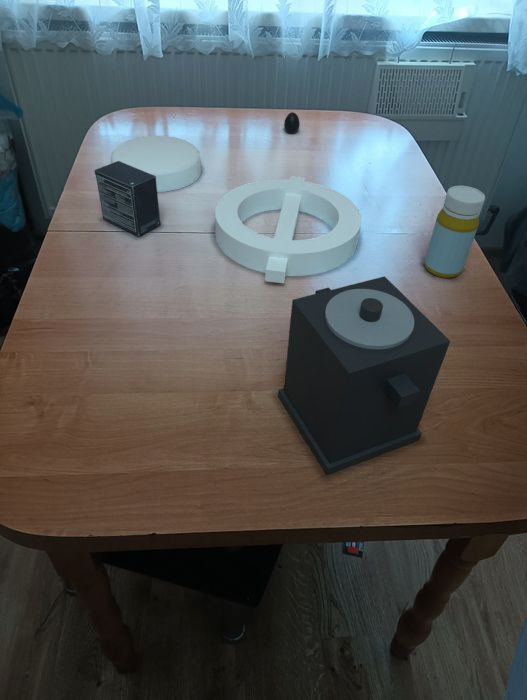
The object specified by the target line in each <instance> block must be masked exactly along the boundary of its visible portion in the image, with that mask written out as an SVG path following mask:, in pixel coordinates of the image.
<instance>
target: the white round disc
mask: <svg viewBox="0 0 527 700" xmlns="http://www.w3.org/2000/svg"><path fill="white" fill-rule="evenodd" d="M117 161H120V162H123V163H125V164H127V165H130V166H132V167H135V168H137V169H140V170H142V171H144V172H147V173H149V174H152V175H154V176H156V185H157V193H164V192H172V191H176V190H177V191H178V190H179V189H183V188H185V187H188V186H190V185H192V184H193V183H195V182H196V181H198V179H199V178H200V176H201V174H202V169H201V167H202V166H201V152H200V150H199V149H198V148H197V146H195V144H193V143H191V142H189V141H188V140H186V139H183V138H179V137H176V136H168V135H146V136H145V135H144V136H139V137H135V138H131V139H128V140H125V141H124V142H122V143H120V144H118V145H117V146H116V147H115V148H114V150H112V151H111V155H110V164H112V163H114V162H117Z"/></svg>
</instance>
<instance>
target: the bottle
mask: <svg viewBox="0 0 527 700" xmlns="http://www.w3.org/2000/svg"><path fill="white" fill-rule="evenodd" d="M485 201H486V195H485V194H484V192H482V191H481V190H480V189H477V188H475V187H472V186H467V185H454V186H451V187H449V188H448V190H447V191H446V195H445V197H444V202H443V206H442V208H441V210H440V211H439V212H438V213H437V216H436V219H435V223H434V227H433V230H432V233H431V236H430V240H429V242H428V243H429V244H428V247H427V250H426V254H425V257H424V261H423V265H424V266H425V269H426V270H427V271H428V272H429V273H430V274H431V275H433V276H434V277H439V278H442V279H452V278H456V277H458V276H459V275H460V274H462V272H463V270H464V267H465V265H466V262H467V260H468V256H469V253H470V251H471V248H472V246H473V242H474V240H475V238H476V234H477V231H478V230H479V229H478V228H479V225H480V215H481V211H482V209H483V206H484V203H485Z"/></svg>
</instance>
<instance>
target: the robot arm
mask: <svg viewBox="0 0 527 700" xmlns="http://www.w3.org/2000/svg"><path fill="white" fill-rule="evenodd" d="M524 246H525V247H527V240H525V243H524ZM504 700H527V618H526V619H525V621H524V624H523V626H522V630H521V632H520V635H519V638H518V641H517V645H516V648H515V651H514V655H513V658H512V662H511V666H510V670H509V675H508V678H507V683H506V689H505V694H504Z"/></svg>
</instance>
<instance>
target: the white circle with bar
mask: <svg viewBox="0 0 527 700" xmlns="http://www.w3.org/2000/svg"><path fill="white" fill-rule="evenodd" d="M269 211H280V212H279V217H278V221H277V225H276V227H275V231H274V235H273V237H269V236H266V235H263V234H261V233H258V232H255V230H252V229H250V228H249V227H247V225H245V224H244V221H246V220H247V219H249V218H250V217H252V216H254V215H257V214H260V213H264V212H269ZM300 212H301V213H303V214H308V215H311V216H314V217H315V218H318V219H319V220H321V221H323V222H325V224H327V225H328V226H329V227H330V228H331V230H330V231H328V232H326V233H325V234H322V235H320V236H317V237H313V238H306V239H295V238H294V237H295V233H296V228H297V225H298V224H297V223H298V219H299V214H300ZM214 223H215V224H214V226H215V227H214V228H215V229H214V230H215V240H216V244H217V246H218V247H219V248H220V250H221V251H222V252H223V253H224V254H225V255H226V256H227V258H229V259H230V260H232V261H233V262H235V263H236V264H239V265H241V266H243V267H245V268H247V269H250V270H253V271H256V272H258V273H263V274H265V278H264V281H265V282H269V283H277V284H285V282H286V277H305V276H313V275H319V274H322V273H326V272H329V271H332V270H334V269H337V268H338V267H340V266H342V265H343V264H345V263H346V262H348V261H349V260H350V259H351V258H352V257H353V255H354V254H355V252H356V250H357V248H358V243H359V236H360V233H361V232H360V231H361V227H362V214H361V212H360V210H359V208H358V206H357V205H356V204H355V203H354V202H353V201H352V200H351V199H349V197H347V196H346V195H344V194H342V193H341V192H339V191H337V190H335V189H332V188H331V187H328V186H325V185H322V184H319V183H316V182H311V181H306V177H303V176H295V175H294V176H293V175H289V178H273V179H263V180H257V181H251V182H248V183H245V184H241V185H239V186H237V187H235V188H233V189H231V190H229V191H227V192H226V193H225V194H223V195H222V197H221V198H220V199H218V201H217V204H216V205H215V209H214Z"/></svg>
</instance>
